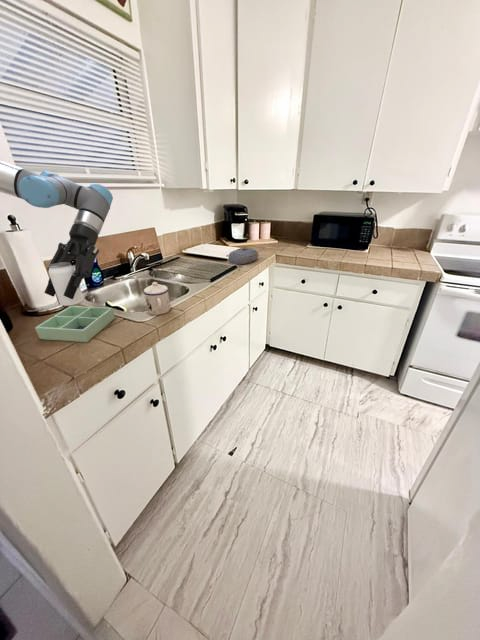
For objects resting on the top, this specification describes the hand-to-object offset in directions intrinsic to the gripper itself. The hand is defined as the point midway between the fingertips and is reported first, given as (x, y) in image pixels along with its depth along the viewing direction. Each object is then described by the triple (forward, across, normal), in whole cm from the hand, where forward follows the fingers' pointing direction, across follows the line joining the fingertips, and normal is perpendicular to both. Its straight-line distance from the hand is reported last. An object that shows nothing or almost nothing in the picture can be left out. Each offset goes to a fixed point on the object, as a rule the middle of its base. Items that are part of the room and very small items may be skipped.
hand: (58, 295), depth 77 cm
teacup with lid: (-7, -15, -30) cm, 34 cm away
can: (0, 0, -5) cm, 5 cm away
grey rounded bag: (-65, -27, -87) cm, 112 cm away
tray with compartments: (+6, +5, -16) cm, 18 cm away
